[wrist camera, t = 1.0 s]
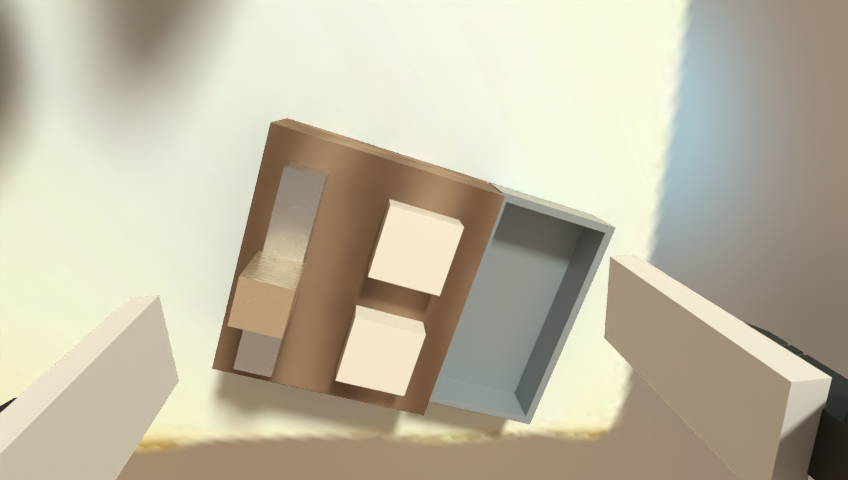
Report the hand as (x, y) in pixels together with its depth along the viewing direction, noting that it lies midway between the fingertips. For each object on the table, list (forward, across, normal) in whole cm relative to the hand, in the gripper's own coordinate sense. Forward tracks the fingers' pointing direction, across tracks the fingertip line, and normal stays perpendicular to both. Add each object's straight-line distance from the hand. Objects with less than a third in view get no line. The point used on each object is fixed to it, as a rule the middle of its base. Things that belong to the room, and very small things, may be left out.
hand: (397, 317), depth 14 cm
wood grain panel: (+25, -2, -7) cm, 26 cm away
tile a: (+19, -1, -11) cm, 22 cm away
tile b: (+19, +2, -4) cm, 19 cm away
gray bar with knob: (+19, -7, -5) cm, 21 cm away
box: (+25, +10, -11) cm, 29 cm away
